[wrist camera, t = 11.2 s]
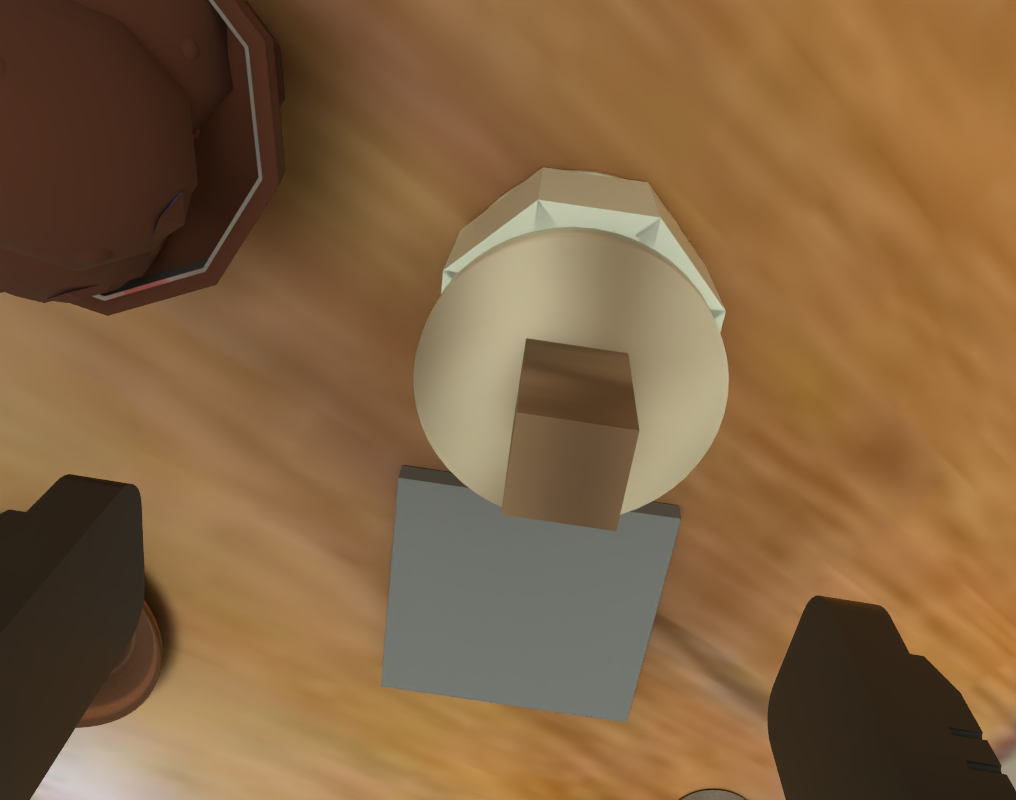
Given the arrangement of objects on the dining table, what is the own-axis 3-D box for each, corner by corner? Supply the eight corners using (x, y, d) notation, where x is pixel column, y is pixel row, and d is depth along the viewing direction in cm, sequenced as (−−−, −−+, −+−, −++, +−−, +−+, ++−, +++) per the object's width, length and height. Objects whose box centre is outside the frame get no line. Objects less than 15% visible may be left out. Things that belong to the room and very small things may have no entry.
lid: (407, 480, 31) (371, 592, 25) (433, 204, 26) (395, 267, 20) (684, 521, 30) (709, 642, 25) (757, 252, 26) (808, 328, 20)
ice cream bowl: (206, -191, 26) (-168, -357, 13) (422, 118, 30) (303, 235, 17) (-11, 21, 30) (-488, 61, 16) (209, 277, 33) (-34, 480, 20)
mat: (385, 671, 42) (381, 686, 41) (402, 465, 37) (398, 477, 36) (625, 706, 42) (626, 722, 41) (678, 505, 37) (681, 519, 36)
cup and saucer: (-109, 518, 40) (-217, 605, 35) (129, 497, 39) (56, 584, 33) (-6, 705, 45) (-85, 806, 40) (207, 692, 44) (155, 795, 38)
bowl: (446, 377, 35) (426, 443, 30) (470, 152, 31) (451, 186, 26) (666, 409, 35) (681, 480, 30) (719, 188, 31) (747, 229, 26)
